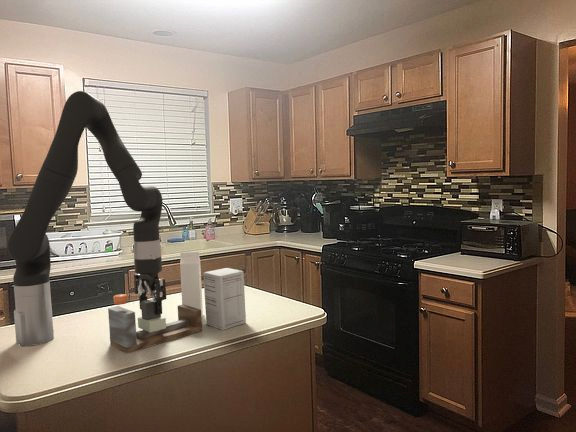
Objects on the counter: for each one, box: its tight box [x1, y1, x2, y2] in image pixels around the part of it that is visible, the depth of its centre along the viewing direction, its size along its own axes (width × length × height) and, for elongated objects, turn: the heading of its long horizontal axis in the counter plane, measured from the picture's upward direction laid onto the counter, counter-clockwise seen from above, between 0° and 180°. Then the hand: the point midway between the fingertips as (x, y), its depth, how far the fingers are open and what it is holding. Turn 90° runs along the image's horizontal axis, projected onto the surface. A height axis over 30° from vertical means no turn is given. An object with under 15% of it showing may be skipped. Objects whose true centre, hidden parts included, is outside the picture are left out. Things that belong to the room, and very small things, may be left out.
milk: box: [179, 251, 204, 319], centre depth 156 cm, size 6×6×22 cm
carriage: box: [137, 298, 167, 332], centre depth 136 cm, size 5×7×8 cm
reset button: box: [113, 293, 128, 306], centre depth 129 cm, size 4×4×2 cm
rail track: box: [107, 303, 203, 354], centre depth 137 cm, size 24×10×10 cm, turn 135°
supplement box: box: [203, 267, 247, 331], centre depth 148 cm, size 10×9×17 cm
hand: (151, 311), depth 136 cm, fingers open, 8 cm apart
